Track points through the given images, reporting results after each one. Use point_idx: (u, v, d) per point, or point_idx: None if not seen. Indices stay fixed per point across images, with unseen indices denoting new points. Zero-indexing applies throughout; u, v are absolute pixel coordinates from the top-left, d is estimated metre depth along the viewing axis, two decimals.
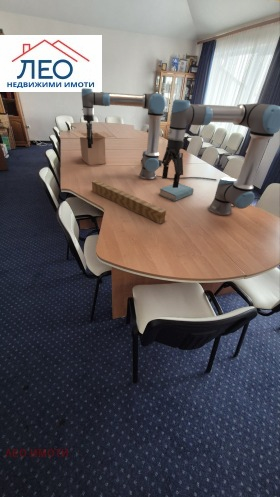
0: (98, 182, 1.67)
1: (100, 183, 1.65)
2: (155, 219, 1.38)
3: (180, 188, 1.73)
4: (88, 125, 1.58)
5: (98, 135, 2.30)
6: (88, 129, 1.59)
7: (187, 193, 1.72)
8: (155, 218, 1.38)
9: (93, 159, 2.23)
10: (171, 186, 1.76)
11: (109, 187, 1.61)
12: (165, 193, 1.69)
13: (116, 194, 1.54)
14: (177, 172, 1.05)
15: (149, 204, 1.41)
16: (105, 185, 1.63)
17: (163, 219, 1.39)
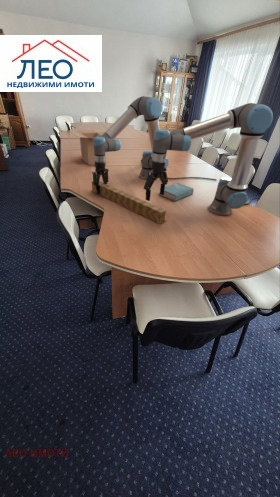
0: None
1: (100, 183, 1.65)
2: (155, 219, 1.38)
3: (180, 188, 1.73)
4: None
5: (98, 135, 2.30)
6: None
7: (187, 193, 1.72)
8: (155, 218, 1.38)
9: (93, 159, 2.23)
10: (171, 186, 1.76)
11: (109, 187, 1.61)
12: (165, 193, 1.69)
13: (116, 194, 1.54)
14: (166, 181, 1.35)
15: (149, 204, 1.41)
16: (105, 185, 1.63)
17: (163, 219, 1.39)
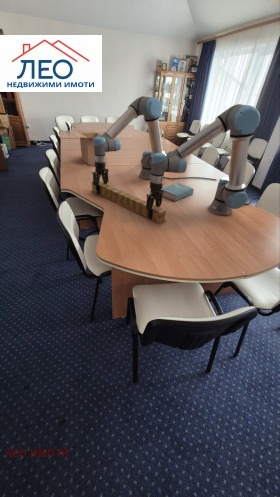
0: None
1: (100, 183, 1.65)
2: (155, 219, 1.38)
3: (180, 188, 1.73)
4: None
5: (98, 135, 2.30)
6: None
7: (187, 193, 1.72)
8: (155, 217, 1.38)
9: (93, 159, 2.23)
10: (171, 186, 1.76)
11: (109, 187, 1.61)
12: (165, 193, 1.69)
13: (116, 194, 1.54)
14: (160, 203, 1.40)
15: None
16: (105, 185, 1.63)
17: (163, 219, 1.39)
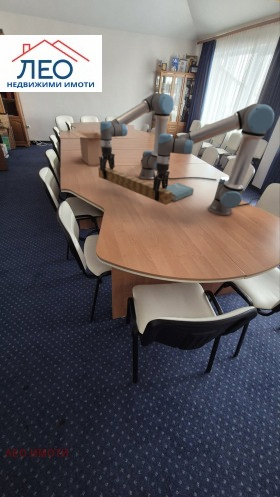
0: None
1: (106, 168, 1.68)
2: (162, 200, 1.41)
3: (180, 188, 1.73)
4: None
5: (98, 135, 2.30)
6: None
7: (187, 193, 1.72)
8: (161, 199, 1.41)
9: (93, 159, 2.23)
10: (171, 186, 1.76)
11: (115, 171, 1.63)
12: None
13: (123, 178, 1.57)
14: (166, 185, 1.43)
15: None
16: (111, 170, 1.66)
17: (169, 201, 1.41)
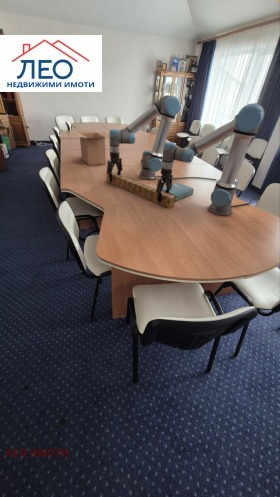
0: (112, 173, 1.85)
1: (114, 174, 1.84)
2: (165, 204, 1.57)
3: (180, 188, 1.73)
4: None
5: (98, 135, 2.30)
6: None
7: (187, 193, 1.72)
8: (164, 203, 1.57)
9: (93, 159, 2.23)
10: None
11: (122, 177, 1.79)
12: None
13: (129, 183, 1.72)
14: (170, 187, 1.58)
15: None
16: (119, 176, 1.81)
17: (172, 204, 1.57)
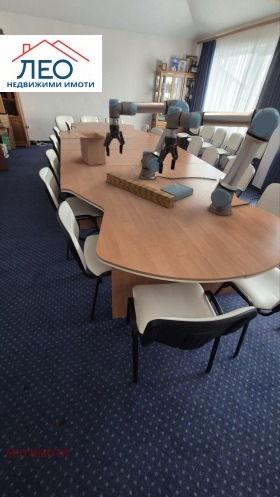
0: (112, 173, 1.85)
1: (114, 174, 1.84)
2: (165, 204, 1.57)
3: (180, 188, 1.73)
4: None
5: (98, 135, 2.30)
6: None
7: (187, 193, 1.72)
8: (164, 203, 1.57)
9: (93, 159, 2.23)
10: (171, 186, 1.76)
11: (122, 177, 1.79)
12: None
13: (129, 183, 1.72)
14: (177, 157, 1.48)
15: (159, 191, 1.60)
16: (119, 176, 1.81)
17: (172, 204, 1.57)
